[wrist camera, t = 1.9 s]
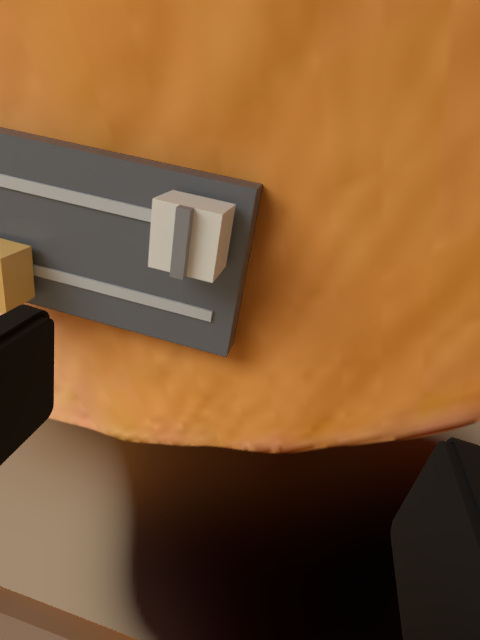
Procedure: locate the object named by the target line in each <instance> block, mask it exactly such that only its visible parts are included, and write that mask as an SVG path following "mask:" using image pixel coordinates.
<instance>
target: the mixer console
mask: <svg viewBox="0 0 480 640" xmlns="http://www.w3.org/2000/svg"><path fill="white" fill-rule="evenodd" d="M262 187H263V184H259V183H254V182H249V181H245V180H240V179H236V178H231V177H227V176H222V175H217V174H213V173H208V172H204V171H199V170H194V169H190V168H185V167H181V166H176V165H171V164H167V163H162V162H158V161H153V160H148V159H144V158H139V157H135V156H130V155H126V154H121V153H116V152H112V151H107V150H103V149H98V148H93V147H89V146H84V145H80V144H75V143H70V142H66V141H61V140H57V139H52V138H47V137H43V136H38V135H34V134H29V133H25V132H20V131H15V130H11V129H6V128H2V127H0V238H2V239H6V240H10V241H13V242H17V243H21V244H25V245H29V246H32V260H33V275H34V289H35V297H34V298H32V299H31V300H29V301H27V303H31V304H35V305H38V306H42V307H45V308H49V309H53V310H56V311H60V312H64V313H67V314H71V315H75V316H78V317H82V318H85V319H89V320H93V321H96V322H100V323H104V324H107V325H111V326H115V327H118V328H122V329H126V330H129V331H133V332H136V333H140V334H144V335H147V336H151V337H155V338H158V339H162V340H166V341H169V342H173V343H177V344H180V345H184V346H187V347H191V348H195V349H198V350H202V351H206V352H209V353H213V354H217V355H220V356H224V357H227V355H228V353H229V351H230V349H231V347H232V345H233V341H234V335H235V330H236V325H237V320H238V314H239V309H240V304H241V298H242V293H243V288H244V282H245V277H246V272H247V266H248V261H249V256H250V250H251V245H252V240H253V234H254V229H255V224H256V218H257V213H258V208H259V203H260V197H261V192H262ZM171 190H176V191H180V192H185V193H189V194H193V195H198V196H202V197H207V198H211V199H216V200H220V201H224V202H229V203H233V204H236V207H235V213H234V219H233V225H232V231H231V238H230V244H229V250H228V256H227V262H226V267H225V268H224V269H223V271H222V272H221V273H220V274H219V276H218V277H217V278H216V279H215V280H214V282H213V283H211V282H207V281H203V280H199V279H195V278H191V277H187V276H186V277H185V278H184V279H183V280H181V279H177V278H173V277H170V272H167V271H163V270H159V269H155V268H151V267H148V256H149V241H150V227H151V212H152V198H155V197H157V196H159V195H162V194H164V193H166V192H169V191H171Z"/></svg>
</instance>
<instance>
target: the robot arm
mask: <svg viewBox="0 0 480 640" xmlns="http://www.w3.org/2000/svg"><path fill="white" fill-rule="evenodd" d="M53 404H54V322H53V320H52V319H50V318H49V314H48V312H46V311H44V310H41V309H38V308H35V307H31V306H28V305H23V304H22V305H19V306H17V307H15V308H14V309H12V310H10V311H8V312H6V313H5V314H3V315H1V316H0V465H1V464H2V463H3V462H4V461H5V460H6V459H7V458H8V457H9V456H10V455H11V454H12V453H13V452H14V451H15V450H16V449H17V448H18V447H19V446H20V445H21V444H22V443H23V442H25V440H26V439H28V437H29V436H31V435H32V434H33V433H34V431H36V430H37V428H39V427H40V426H41V424H43V423H44V421H46V419H47V418H48V417H49V416H50V414H51V412H52V409H53ZM391 542H392V550H393V558H394V566H395V575H396V584H397V592H398V599H399V600H398V601H399V609H400V617H401V626H402V634H403V640H480V446H479V445H476V444H473V443H470V442H466V441H463V440H460V439H457V438H450V439H448V440H447V442H444V441H440V442H439V443H438V444H437V445H436V447H435V448H434V450H433V452H432V454H431V455H430V457H429V459H428V461H427V462H426V464H425V466H424V468H423V469H422V471H421V473H420V475H419V476H418V478H417V480H416V481H415V483H414V485H413V487H412V489H411V490H410V492H409V494H408V495H407V497H406V499H405V500H404V502H403V504H402V506H401V507H400V509H399V511H398V513H397V514H396V516H395V518H394V520H393V523H392V527H391ZM0 640H138V639H135V638H133V637H130V636H127V635H125V634H122V633H119V632H117V631H115V630H112V629H109V628H107V627H104V626H102V625H99V624H97V623H94V622H91V621H89V620H86V619H84V618H81V617H79V616H76V615H73V614H71V613H68V612H66V611H63V610H61V609H58V608H55V607H53V606H50V605H48V604H45V603H43V602H40V601H37V600H35V599H32V598H30V597H27V596H24V595H22V594H19V593H17V592H14V591H11V590H9V589H6V588H3V587H1V586H0Z"/></svg>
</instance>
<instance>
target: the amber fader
mask: <svg viewBox="0 0 480 640" xmlns="http://www.w3.org/2000/svg"><path fill="white" fill-rule="evenodd" d="M34 297H35V289H34V275H33V260H32V246H29V245H25V244H21V243H17V242H13V241H10V240H6V239H2V238H0V312H3V313H6V312H8V311H10V310H12V309H14V308H15V307H17V306H19V305H22V304H24V303H25V302H27V301H29V300H31V299H32V298H34Z"/></svg>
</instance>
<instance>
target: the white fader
mask: <svg viewBox="0 0 480 640" xmlns="http://www.w3.org/2000/svg"><path fill="white" fill-rule="evenodd" d="M235 207H236V204H233V203H229V202H224V201H220V200H216V199H211V198H207V197H202V196H198V195H193V194H189V193H185V192H180V191H176V190H171V191H169V192H166V193H164V194H162V195H159V196H157V197H155V198H152V212H151V227H150V241H149V256H148V267H151V268H155V269H159V270H163V271H167V272H170V277H173V278H177V279H181V280H183V279H184V278H185V277H186V276H187V277H191V278H195V279H199V280H203V281H207V282H211V283H213V282H214V280H215V279H216V278H217V277H218V276H219V274H220V273H221V272H222V271H223V269H224V268H225V267H226V262H227V256H228V250H229V244H230V238H231V231H232V225H233V219H234V213H235Z"/></svg>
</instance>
